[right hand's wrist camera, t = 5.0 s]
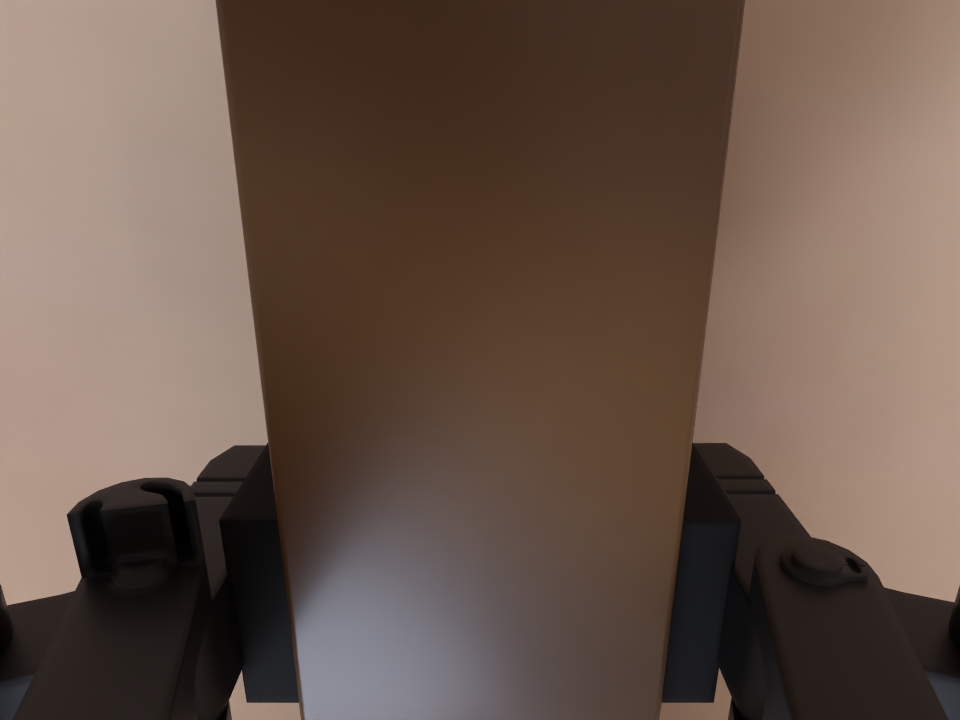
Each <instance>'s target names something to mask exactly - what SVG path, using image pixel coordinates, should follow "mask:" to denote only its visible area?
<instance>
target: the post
mask: <svg viewBox="0 0 960 720" xmlns="http://www.w3.org/2000/svg"><path fill="white" fill-rule="evenodd" d="M744 6H745V0H216V8H217V16H218V25H219V33H220V42H221V50H222V58H223V67H224V75H225V84H226V92H227V100H228V109H229V117H230V125H231V134H232V142H233V151H234V159H235V167H236V176H237V184H238V193H239V201H240V209H241V218H242V226H243V235H244V243H245V251H246V260H247V268H248V277H249V285H250V293H251V302H252V310H253V319H254V327H255V335H256V344H257V352H258V361H259V369H260V377H261V386H262V394H263V402H264V411H265V419H266V428H267V436H268V444H269V453H270V461H271V470H272V478H273V486H274V495H275V503H276V512H277V520H278V528H279V537H280V545H281V554H282V562H283V570H284V579H285V587H286V596H287V604H288V612H289V621H290V629H291V638H292V646H293V654H294V663H295V671H296V679H297V688H298V696H299V705H300V713H301V720H659V717H660V709H661V701H662V692H663V684H664V676H665V667H666V659H667V650H668V642H669V634H670V625H671V617H672V609H673V600H674V592H675V583H676V575H677V567H678V558H679V550H680V542H681V533H682V525H683V516H684V508H685V500H686V491H687V483H688V475H689V466H690V458H691V450H692V441H693V433H694V424H695V416H696V408H697V399H698V391H699V383H700V374H701V366H702V357H703V349H704V341H705V332H706V324H707V316H708V307H709V299H710V290H711V282H712V274H713V265H714V257H715V249H716V240H717V232H718V224H719V215H720V207H721V198H722V190H723V182H724V173H725V165H726V157H727V148H728V140H729V131H730V123H731V115H732V106H733V98H734V90H735V81H736V73H737V64H738V56H739V48H740V39H741V31H742V23H743V14H744Z"/></svg>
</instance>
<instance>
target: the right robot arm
mask: <svg viewBox="0 0 960 720" xmlns="http://www.w3.org/2000/svg"><path fill="white" fill-rule="evenodd" d="M67 518H68V522H69V526H70V530H71V535H72V539H73V543H74V547H75V551H76V555H77V559H78V563H79V568H80V572H81V576H82V578H81V580H80V582H79V584H78V586H77V588H76V590H75V591H73V592H69V593H65V594H62V595H57V596H52V597H47V598H42V599H37V600H32V601H27V602H22V603H17V604H12V605H6V601H5V598H4V594H3V591H2V588H1V585H0V720H232V717H231V710H230V704H229V699H230V696H231V694H232V692H233V689H234V687H235V684H236V682H237V680H238V677H239V675H240V673H241V670H242V674H243V681H244V687H245V694H246V700H247V703H299V696H298V688H297V679H296V671H295V663H294V654H293V646H292V638H291V629H290V621H289V612H288V604H287V596H286V587H285V579H284V570H283V562H282V554H281V545H280V537H279V528H278V520H277V512H276V503H275V495H274V486H273V478H272V470H271V461H270V453H269V444H268V443H267V445H266V446H233V447H231V448H230V449H228V450H227V451H225V452H223V453H222V454H220V455H219V456H217V457H215V458H214V459H212V460H211V461H210V462H209V463H208V464H207V466H206V467H205V468H204V470H203V471H202V472H201V474H200V475H199V476H198V478H197V482H194V483H193V484H192V485H191V487H190V486H189V485H188V484H186V483H185V482H184V481H179V480H175V479H171V478H143V479H137V480H132V481H127V482H122V483H119V484H116V485H113V486H110V487H108V488H105V489H102V490H99V491H97V492H95V493H94V494H92V495H90V496H89V497H87V498H85V499H83V500H82V501H80V502H79V503H78V504H77V505H76V506H75V507H74V508H73V509H72V510H71V511H70V512H69V513H68V514H67ZM719 668H720V670H721V673H722V675H723V677H724V680H725V682H726V684H727V687H728V689H729V691H730V694H731V696H732V698H731V704H730V710H729V716H728V720H960V586H959V590H958V593H957V596H956V600H955V603H954V602H949V601H944V600H939V599H934V598H929V597H924V596H919V595H914V594H909V593H904V592H899V591H896V590H892V589H888V588H884V587H883V585H882V583H881V581H880V579H879V577H878V576H877V574H876V573H875V572H874V571H873V569H872V568H871V567H870V566H869V564H868V563H867V562H866V561H864V560H863V559H861V558H860V557H858V556H857V555H855V554H854V553H852V552H851V551H849V550H848V549H845V548H843V547H840V546H838V545H836V544H833V543H831V542H828V541H826V540H821V539H817V538H812V537H811V536H810V535H809V534H808V532H807V531H806V530H805V528H804V527H803V526H802V525H801V523H800V522H799V521H798V519H797V518H796V517H795V516H794V514H793V513H792V512H791V510H790V509H789V508H788V506H787V505H786V504H785V503H784V501H783V500H782V499H781V497H780V496H779V495H778V494H775V490H774V488H773V487H772V486H771V484H770V483H769V482H768V481H767V479H764V475H763V474H762V473H761V471H760V470H759V469H758V468H757V466H756V465H755V464H754V462H753V461H752V460H751V458H749V457H747V456H746V455H744V454H743V453H741V452H739V451H738V450H736V449H735V448H733V447H731V446H730V445H728V444H727V443H692V450H691V458H690V466H689V475H688V483H687V491H686V500H685V508H684V516H683V525H682V533H681V542H680V550H679V558H678V567H677V575H676V583H675V592H674V600H673V609H672V617H671V625H670V634H669V642H668V650H667V659H666V667H665V676H664V684H663V692H662V701H661V703H714V697H715V690H716V684H717V677H718V671H719Z"/></svg>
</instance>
